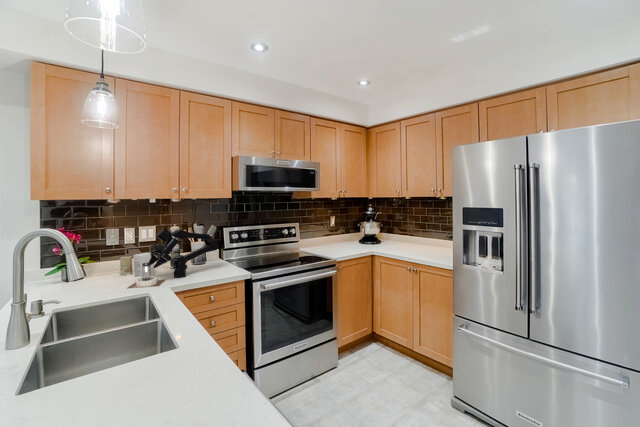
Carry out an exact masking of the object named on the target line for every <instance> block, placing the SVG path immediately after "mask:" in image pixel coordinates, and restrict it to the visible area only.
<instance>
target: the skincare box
mask: <svg viewBox="0 0 640 427" xmlns="http://www.w3.org/2000/svg"><path fill="white" fill-rule="evenodd" d="M119 266H120V267H119V269H120V270H119V273H120V274H119V275H120V276H129V275H128V274H131V273H132V274H133V256H121V257H119ZM132 274H131V275H132Z"/></svg>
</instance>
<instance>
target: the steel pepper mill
mask: <svg viewBox="0 0 640 427" xmlns="http://www.w3.org/2000/svg"><path fill="white" fill-rule="evenodd" d="M151 277H152V276H151V265H150V263H142V277H141V278H142V281H148V280H151Z"/></svg>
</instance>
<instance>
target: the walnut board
mask: <svg viewBox="0 0 640 427" xmlns="http://www.w3.org/2000/svg"><path fill="white" fill-rule="evenodd" d="M166 281H167V279H158V283H157V284H154V285H151V286H144V287H138V286H136V282H135V281H134V283H132V284H131V285H129V286H128V287H126V289H140V288H141V289H142V288H152V287H160V286H162V284H164V283H165V282H166Z"/></svg>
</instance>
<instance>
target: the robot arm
mask: <svg viewBox="0 0 640 427" xmlns="http://www.w3.org/2000/svg"><path fill="white" fill-rule="evenodd" d="M155 237H157V238H158V239H159V240H161V242H165V243H164V244H161V243H157V244H156V243H153V242H151V245H150V246H149V249H151V251H150V252H149V253H150V255H151V258H150V261H149V263H150V265H152V264H153V263H154V267H153V268H154V269H156V268H158V267H160V266H162V265H164V264H167V263H168V262H169V263H170V264H169V265H171V267H173V269H174V270H173V278H174V279H183V278H186V277H187V268H188V265H187V263H188V262H189V261H191V260H194V259H195V258H197V257H200V256H201V255H204V254H205V253H208V252H214V251H217V250H218V248H219V243H218V242H217V241H216V240H215V239H214V238H213V237H212V236H211V235H210V234H209V233H197V232H189V231H186V230H183V229H175V230H174V231H173V232H170V231H169V230H168V229H166V228H165V227H163V228H162V229H160V230H159V231H157V233H156V234H155ZM185 239H197V240H203V242H204V245H203V246H202V247H199V248H198V249H194V250H193V251H191V252H189V253H187V254H185V255H183V254H177V255H176V256H173V257H172V256H171V255H170V253H172V252H173V251H174V250H173V249H175V247H176V246H177V245H179V246H181V245H182V242H181V240H185Z"/></svg>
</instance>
